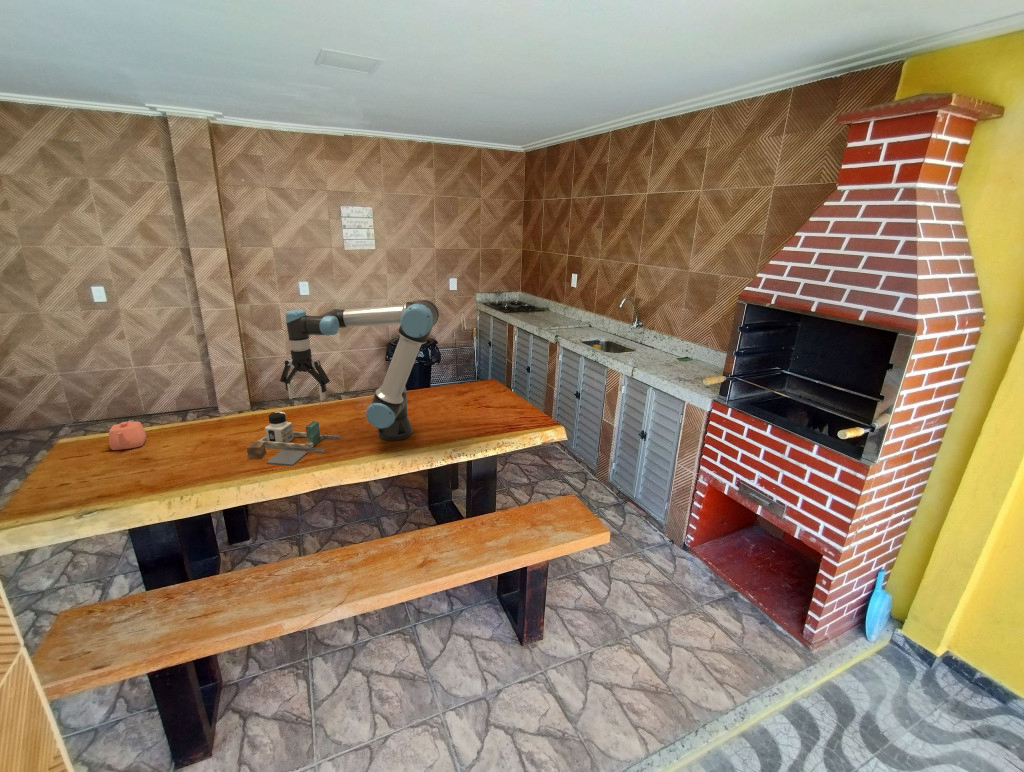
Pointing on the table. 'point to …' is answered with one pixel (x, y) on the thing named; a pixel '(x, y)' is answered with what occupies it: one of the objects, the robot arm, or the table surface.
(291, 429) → the container
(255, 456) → the walnut cube
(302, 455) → the coaster
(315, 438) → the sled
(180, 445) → the table surface
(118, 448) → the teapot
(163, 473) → the table surface
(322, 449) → the lanes
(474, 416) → the table surface
